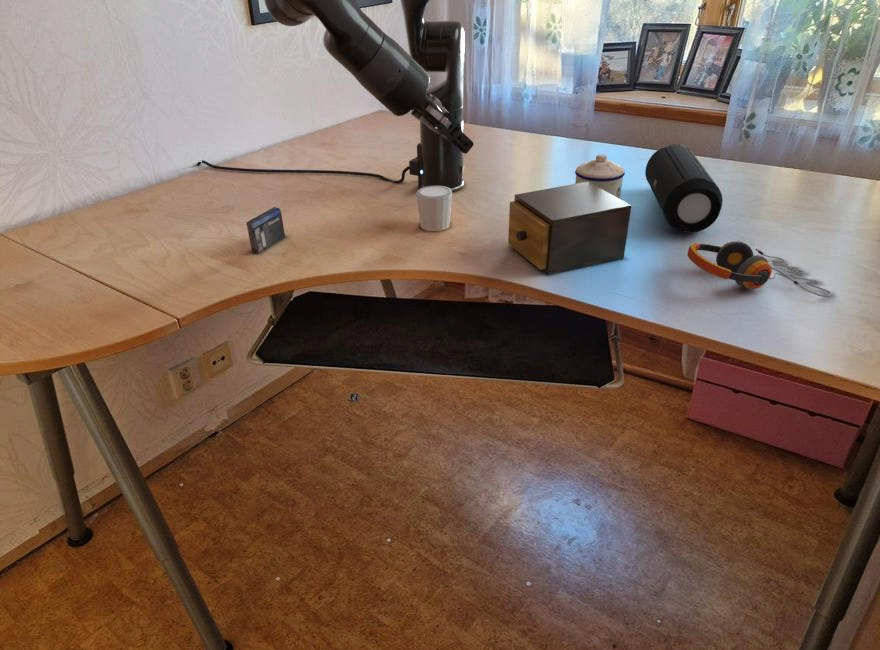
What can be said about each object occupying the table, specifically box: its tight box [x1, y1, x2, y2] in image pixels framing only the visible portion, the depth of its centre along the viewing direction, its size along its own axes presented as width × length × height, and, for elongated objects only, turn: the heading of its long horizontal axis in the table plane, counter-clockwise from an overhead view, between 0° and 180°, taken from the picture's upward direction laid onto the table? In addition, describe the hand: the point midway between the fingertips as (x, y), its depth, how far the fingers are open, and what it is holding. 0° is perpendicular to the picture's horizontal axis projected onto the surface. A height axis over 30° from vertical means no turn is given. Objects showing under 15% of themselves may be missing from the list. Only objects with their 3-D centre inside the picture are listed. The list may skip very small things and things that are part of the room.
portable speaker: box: [644, 144, 723, 233], centre depth 125 cm, size 26×10×10 cm, turn 172°
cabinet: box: [513, 182, 632, 276], centre depth 113 cm, size 15×13×10 cm
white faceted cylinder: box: [416, 186, 453, 232], centre depth 127 cm, size 7×7×7 cm
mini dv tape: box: [245, 206, 286, 254], centre depth 124 cm, size 8×2×6 cm, turn 151°
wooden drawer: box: [507, 200, 550, 271], centre depth 112 cm, size 15×12×8 cm
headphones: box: [687, 240, 833, 298], centre depth 102 cm, size 17×5×20 cm
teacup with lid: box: [574, 153, 626, 199], centre depth 127 cm, size 12×9×12 cm
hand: (468, 148), depth 103 cm, fingers closed
